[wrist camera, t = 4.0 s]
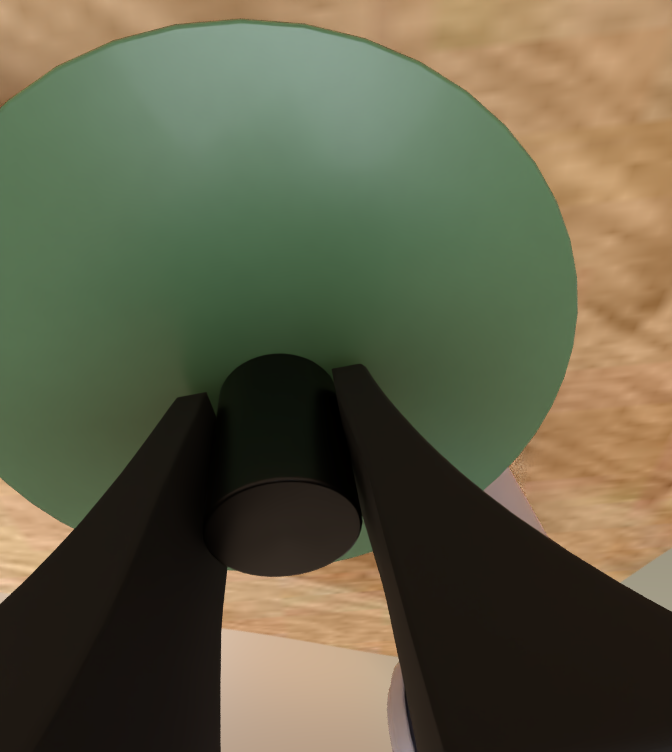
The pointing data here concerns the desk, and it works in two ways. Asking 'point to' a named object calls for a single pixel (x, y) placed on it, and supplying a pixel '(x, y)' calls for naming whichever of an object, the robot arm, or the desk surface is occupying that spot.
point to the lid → (268, 274)
